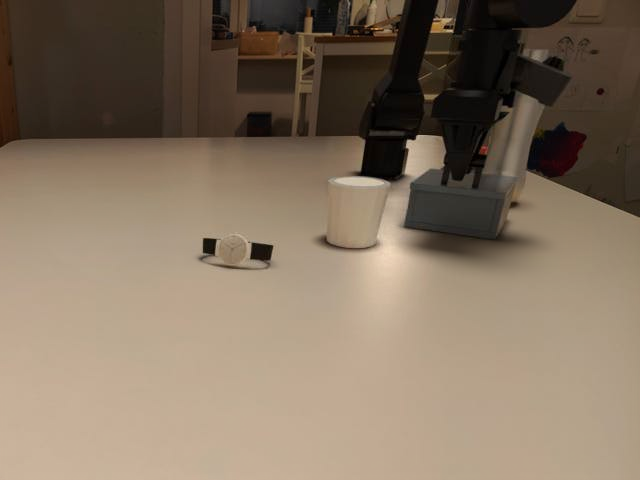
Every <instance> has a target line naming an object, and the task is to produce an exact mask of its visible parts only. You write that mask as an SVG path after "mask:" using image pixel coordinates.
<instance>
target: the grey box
mask: <svg viewBox="0 0 640 480" xmlns="http://www.w3.org/2000/svg"><path fill="white" fill-rule="evenodd" d="M515 185H516V184H515ZM515 185H514V187H513V188H512V189H511V191H510V192H509V194H508V195H507V197H506V198H505V200H501V199H493V198H484V197H475V196H466V195H457V194H448V193H440V192H431V191H422V190H413V189H410V191H409V195H408V201H407V206H406V207H407V208H406V212H405V218H404V219H405V220H404V223H403V227H404V228H410V229H411V228H412V229H418V230H425V231H426V230H427V231H432V232H433V231H434V232H440V233H446V234H455V235H462V236H467V237H474V238H482V239H488V240H496V238H497V237H498V235H499V233H500V232H501V230H502V229H503V227H504V225H505V223H506V222H507V219H508V216H509V211H510V207H511V205H512V202H511V200H512V196H513V193H514V189H515Z"/></svg>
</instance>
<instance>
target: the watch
mask: <svg viewBox="0 0 640 480" xmlns="http://www.w3.org/2000/svg"><path fill="white" fill-rule="evenodd" d="M237 233H238V232H237V231H235V230H234V231H233V233H230V234H227V235H225V236H224V237H222V238H211V237H202V254H204V255H205V254H206V255H212V256H215V257H218V258H219V259H220V260H221V261H222V262H223V263H224V264H226V265H229V266H237V265H238V266H239V265H241V264H242V263H243V262H245V261H246V260H247V261H250V260H254V261H255V260H256V261H265V262H266V261H269V262H270V261H271V260H272V255H273V250H274V244H269V243H260V242H251V241H247V239H246V238H245V237H244V236H242V235H241V234H237Z"/></svg>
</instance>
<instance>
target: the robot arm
mask: <svg viewBox="0 0 640 480" xmlns="http://www.w3.org/2000/svg"><path fill="white" fill-rule="evenodd" d="M577 1H578V0H470V4H469V9H468V14H467V19H466V23H465V30H464V34H463V39H459V40H458V45H457V49H456V51H458V52H459V51H460V53H459V58H458V63H457V68H456V74H455V78H454V80H452V81H450V86H449V88H446V89H443V90H442V91H441V92H440V93H439V94H437V96H435V97H434V98H433V101H432V106H431V107H432V108H431V111H430V118H431V119H436V120H437V122H436V123H437V124H438V126H439V129H440V133H441V137H442V141H443V146H444V149H445V150H444V151H445V153H446V154H447V158H448V162H449V167H450V171H451V176H452V179H453V180H454V181H462V180H463V179H464V176H465V174H470V173H471V171H472V168H473V167H469V164H470V162H471V160H472V157H473V155H474V154H479V153H480V151H481V149H482V147H483V146H484V144H485V143H486V140H487V138H488V136H489V134H490V133H491V129H492V127H493V126H494V125H495V124H496V123H498V122H499V121H501V120H502V119H503V118H505V117H506V116H507V115H509V113H510V112H502V111H500V110H501V106H507V108H514V107H515V105H516V101H517V97H518V93H519V92H521V93H523V94H525V95H528V96H530V97H532V98H535V99H537V100H538V102H539V103H541V104H543V105H545V107H548V108H553V106H555V104H556V103H557V102H558V100H559V99H560V98H561V95H562V94H563V93H564V91H565V90H566V88H567V87H568V85H569V84H570V82H571V81H572V80H573V78H574V74H573V75H572V74H571V73H570V72H566V71H565V65H566V59H564V58H561V57H560V56H556V55H554V54H552V55H550V56H549V57H547V58H546V60H545V61H543V62H539V61H538V60H534V59H531V58H529V57H526V56H524V55H523V52H524V49H526V42H524V39H522V37H523V34H524V29H543V28H548V27H551V26H553V25H555V24H557V23H558V22H560V21H561V20H563V19H564V18H566V16H567V15H568V14H569V13H570V12H571V11H572V9H573V8H574V6H575V5H576V3H577ZM438 5H439V0H404V2H403V6H402V11H401V15H400V21H399V25H398V28H397V32H396V33H397V34H396V37H395V41H394V45H393V51H392V54H391V60H390V64H389V68H388V71H387V72H386V74H385V75H383V77H382V78H381V79H380V80H379V81H378V82H377V84H376V85H375V86H374V88H373V93H372V96H371V100H368V102H367V104H366V107H365V109H364V112H363V115H362V117H361V118H360V122H359V125H358V127H359V128H358V137H359V138H360V139H362V140H364V147H363V153H362V160H361V167H360V171H359V172H357V174H356V176H363V177H372V178H377V179H382V180H388V181H389V180H390V181H395V180H397V179H399V178H401V177H402V176H403V175H404V174H405V173H406V169H407V163H408V157H409V152H410V149H409V148H408V147H407V143H408V141H416V140H417V137H418V135H419V132H420V128H421V126H422V125H421V124H422V122H423V118H424V117H425V114H426V110H425V106H424V105H425V101H426V97H425V94H424V91H423V89H422V85H421V83H420V79H419V77H420V73H421V69H422V65H423V62H424V58H425V54H426V51H427V47H428V44H429V39H430V35H431V32H432V28H433V23H434V21H435V20H434V19H435V17H436V16H435V15H436V12H437V9H438ZM371 131H373V132H371Z"/></svg>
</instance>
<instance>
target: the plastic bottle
mask: <svg viewBox="0 0 640 480" xmlns="http://www.w3.org/2000/svg"><path fill="white" fill-rule="evenodd" d="M548 54H549V48H548V49H547V48H524V52H523V55H524V56H526V57H529V58H531V59H534V60H538V61H539V62H543V61H545V60H546V59H547V58H548ZM545 107H546V105H543V104H541V103H539V102H538V100H537V99H535V98H532V97H530V96H528V95H525V94H523V93H521V92H519V93H518V97H517V101H516V105H515V107H514V108H507V106H501V110H500V111H502V112H510V113H509V115H507V116H506V117H505V118H503V119H502V120H501V121H499V122H498V123H496V124H495V125H494V126H493V127H492V128H491V130H490V136H489V139H488V144H487V151H486V155H488V157H487V162H486V165H485V167H484V168H483V171H482V174H492V175H503V176H513V177H517V181H516V185H515V189H514V193H513V196H512V200H511V203H515V202H516V201H517V200H518V199H519V198H520V197H521V196H522V194H523V191H524V189H525V187H526V180H527V166H528V162H529V161H528V160H529V154H530V149H531V145H532V142H533V137H534V135H535V132H536V130H537V127H538V126H537V125H538V123H539V122H540V118H541V116H542V114H543V112H544V109H545Z"/></svg>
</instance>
